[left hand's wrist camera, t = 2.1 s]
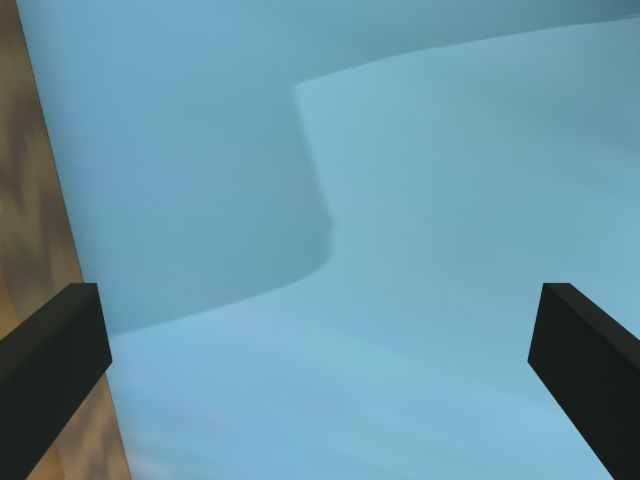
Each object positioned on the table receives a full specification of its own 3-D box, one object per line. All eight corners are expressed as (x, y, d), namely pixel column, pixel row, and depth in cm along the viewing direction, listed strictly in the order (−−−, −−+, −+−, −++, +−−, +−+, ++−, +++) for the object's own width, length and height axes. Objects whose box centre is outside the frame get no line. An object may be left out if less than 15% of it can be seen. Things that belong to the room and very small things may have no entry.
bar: (-175, -395, 21) (-425, -632, 14) (-81, -399, 21) (-284, -639, 14) (99, 535, 44) (58, 621, 37) (145, 535, 44) (111, 621, 37)
